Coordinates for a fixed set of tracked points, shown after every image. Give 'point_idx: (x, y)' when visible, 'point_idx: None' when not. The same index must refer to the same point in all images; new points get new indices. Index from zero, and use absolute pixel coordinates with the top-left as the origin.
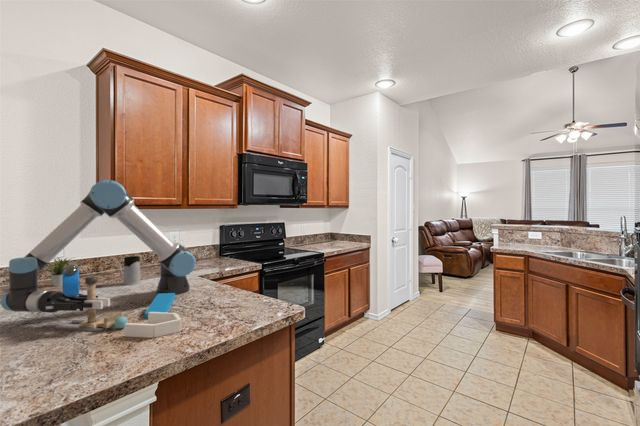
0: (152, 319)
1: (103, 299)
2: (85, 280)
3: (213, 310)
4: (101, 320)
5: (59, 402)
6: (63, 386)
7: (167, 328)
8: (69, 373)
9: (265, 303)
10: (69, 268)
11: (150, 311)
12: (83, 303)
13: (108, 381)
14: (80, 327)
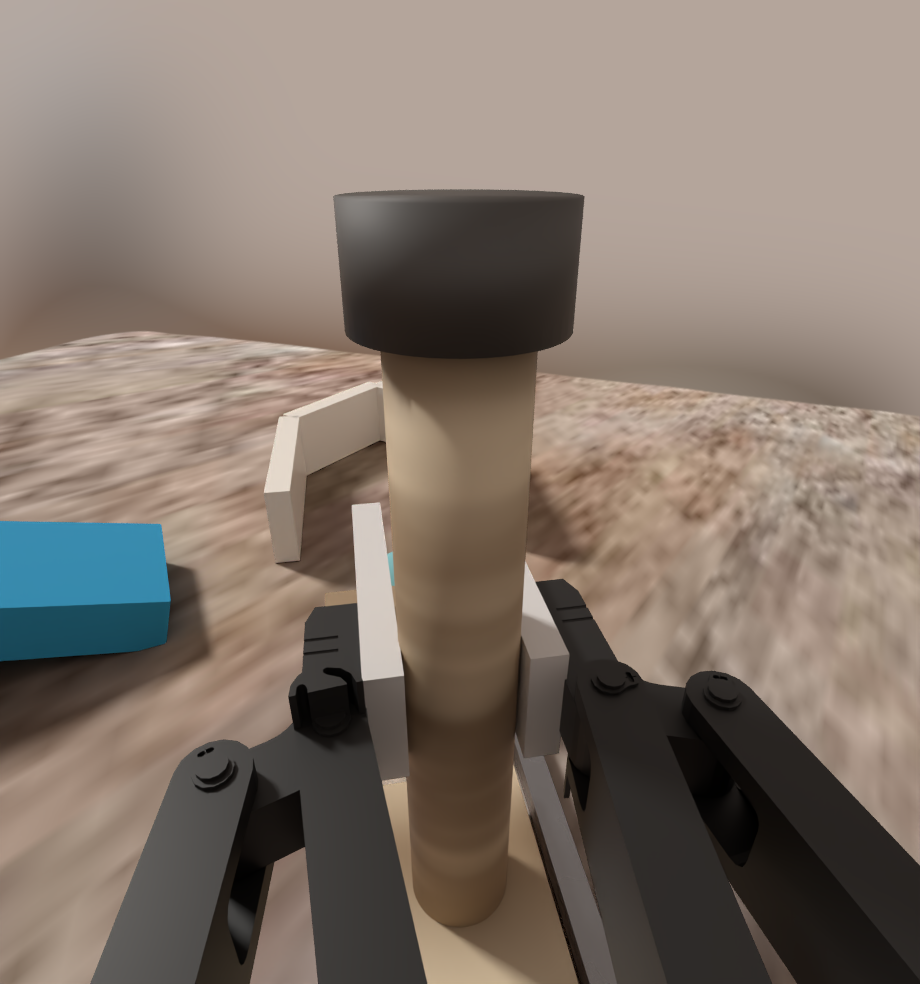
0: (297, 515)
1: (385, 549)
2: (575, 256)
3: (63, 451)
4: (387, 806)
5: (883, 417)
6: (869, 447)
7: None
8: (843, 479)
9: (3, 378)
10: None
11: (135, 580)
12: (600, 651)
13: (755, 406)
14: (582, 948)
